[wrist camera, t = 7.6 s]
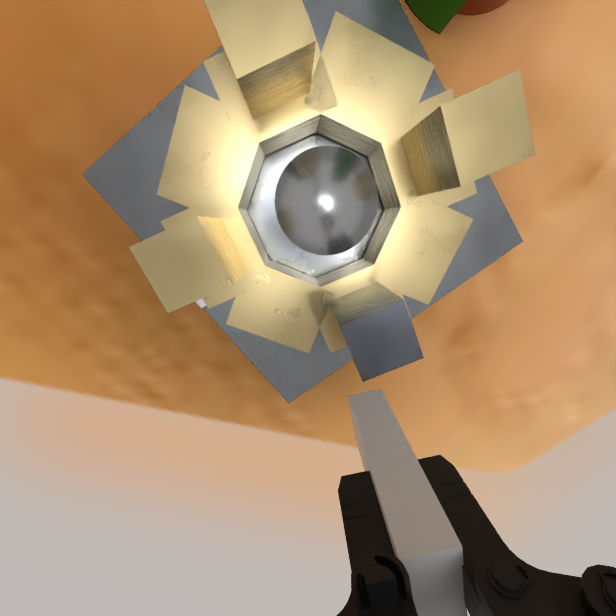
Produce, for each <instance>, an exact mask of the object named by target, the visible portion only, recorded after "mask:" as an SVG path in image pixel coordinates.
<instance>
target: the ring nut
mask: <svg viewBox="0 0 616 616" xmlns="http://www.w3.org/2000/svg"><path fill="white" fill-rule="evenodd" d="M204 2H205V4H206V7H207V9H208V12H209V14H210V17H211V19H212V22H213V24H214V27H215V29H216V32H217V34H218V36H219V39H220V41H221V44H222V46H223V49H224V51H223V52H221V53H219V54H217V55H215V56H213V57H211V58H209V59H207V60H205V61H203V63H204V65H205V67H206V70H207V72H208V74H209V77H210V79H211V81H212V83H213V86H214V88H215V90H216V93H217V95H218V97H219V99H220V101H218V100H216V99H214V98H212V97H210V96H208V95H205V94H203V93H201V92H199V91H197V90H195V89H193V88H190V87H188V86H186V85H185V86H184V90H183V94H182V98H181V102H180V106H179V109H178V113H177V117H176V121H175V125H174V129H173V133H172V137H171V141H170V144H169V148H168V152H167V156H166V160H165V164H164V168H163V172H162V176H161V179H160V183H159V187H158V191H157V195H159V196H162V197H164V198H167V199H169V200H172V201H174V202H177V203H179V204H182V205H184V206H187V207H189V208H188V209H186V210H184V211H182V212H180V213H177V214H175V215H173V216H171V217H169V218H167V219H164V220H162V221H161V223H162V225H163V227H164V229H165V231H163V232H161V233H158V234H156V235H154V236H152V237H150V238H147V239H145V240H143V241H141V242H139V243H136V244H134V245H132V246H130V247H129V248H130V250H131V252H132V254H133V255H134V257H135V259H136V260H137V262H138V264H139V265H140V267H141V269H142V271H143V272H144V274H145V276H146V277H147V279H148V281H149V282H150V284H151V286H152V288H153V289H154V291H155V293H156V294H157V296H158V298H159V299H160V301H161V303H162V304H163V306H164V308H165V310H166V311H167V313H170V312H172V311H174V310H177V309H179V308H181V307H184V306H186V305H188V304H191V303H193V302H195V301H197V300H200V299H203V300H204V302H205V304H206V306H207V308H208V309H209V308H211V307H214V306H216V305H218V304H221V303H223V302H225V301H228V300H230V299H232V298H235V300H234V303H233V305H232V308H231V311H230V314H229V317H228V320H227V322H226V324H227V325H230V326H233V327H236V328H239V329H241V330H244V331H247V332H250V333H253V334H256V335H258V336H261V337H264V338H267V339H270V340H272V341H275V342H278V343H281V344H284V345H286V346H289V347H292V348H295V349H298V350H301V351H303V352H306V353H309V352H310V350H311V348H312V345H313V343H314V341H315V338H316V336H317V334H318V332H319V329H320V330H321V332H322V334H323V337H324V339H325V341H326V344H327V346H328V348H329V350H330V353H332V352H334V351H337V350H339V349H342V348H344V347H346V346H348V349H349V351H350V353H351V355H352V358H353V360H354V362H355V365H356V367H357V369H358V372H359V374H360V376H361V379H362V381H363V382H364V381H366V380H369V379H371V378H374V377H376V376H379V375H381V374H384V373H386V372H389V371H391V370H394V369H396V368H399V367H402V366H404V365H407V364H409V363H412V362H414V361H417V360H419V359H422V358H424V357H423V355H422V352H421V349H420V346H419V343H418V340H417V337H416V334H415V331H414V328H413V325H412V322H411V317H410V314H409V311H408V308H407V305H406V302H405V300H404V297H403V295H406V296H408V297H411V298H413V299H416V300H418V301H421V302H423V303H425V304H428V305H429V303H430V301H431V299H432V297H433V295H434V293H435V292H436V290H437V288H438V286H439V284H440V282H441V280H442V278H443V276H444V274H445V273H446V271H447V269H448V267H449V265H450V263H451V261H452V259H453V257H454V255H455V254H456V252H457V250H458V248H459V246H460V244H461V242H462V240H463V238H464V236H465V235H466V233H467V231H468V229H469V227H470V225H471V223H472V221H473V219H472V218H470V217H468V216H466V215H464V214H461V213H459V212H457V211H455V210H453V209H451V208H449V207H447V206H449V205H451V204H453V203H456V202H458V201H460V200H463V199H465V198H467V197H470V196H472V195H474V194H477V190H476V186H475V182H474V181H475V180H477V179H479V178H482V177H484V176H486V175H489V174H491V173H493V172H496V171H498V170H500V169H503V168H505V167H507V166H510V165H512V164H514V163H516V162H519V161H521V160H523V159H526V158H528V157H530V156H533V155H535V152H534V146H533V141H532V135H531V129H530V124H529V118H528V113H527V107H526V101H525V96H524V90H523V85H522V79H521V73H520V69H519V70H517V71H515V72H513V73H511V74H508V75H506V76H504V77H502V78H500V79H497V80H495V81H493V82H491V83H489V84H486V85H484V86H482V87H480V88H478V89H475V90H473V91H471V92H469V93H467V94H464V95H462V96H460V97H458V98H456V99H455V98H454V94H453V90H452V88H451V89H449V90H446V91H444V92H442V93H440V94H438V95H435V96H433V97H431V98H429V99H427V100H425V101H422V102H420V103H419V101H420V99H421V96H422V94H423V92H424V90H425V87H426V85H427V83H428V81H429V78H430V76H431V74H432V71H433V69H434V67H435V64H433V63H431V62H429V61H427V60H425V59H424V58H422V57H420V56H418V55H416V54H414V53H412V52H411V51H409V50H407V49H405V48H403V47H401V46H400V45H398V44H396V43H394V42H392V41H390V40H388V39H387V38H385V37H383V36H381V35H379V34H377V33H375V32H374V31H372V30H370V29H368V28H366V27H364V26H363V25H361V24H359V23H357V22H355V21H353V20H351V19H350V18H348V17H346V16H344V15H342V14H340V13H338V12H337V11H336V12H335V15H334V17H333V20H332V23H331V26H330V29H329V32H328V35H327V37H326V40H325V43H324V46H323V49H322V52H320V49H319V46H318V43H317V40H316V37H315V34H314V31H313V28H312V25H311V22H310V19H309V16H308V13H307V10H305V7H304V4H303V1H302V0H204ZM315 132H318V133H320V134H322V135H324V136H326V137H328V138H330V139H332V140H335V141H337V142H339V143H341V144H343V145H345V146H347V147H349V148H351V149H354V150H356V151H358V152H360V153H362V154H364V155H366V156H367V157H368V160H369V163H370V166H371V169H372V172H373V175H374V178H375V181H376V184H377V187H378V190H379V193H380V197H381V200H382V203H383V206H384V209H385V210H384V212H383V214H382V217H381V219H380V221H379V223H378V226H377V228H376V230H375V232H374V234H373V237H372V239H371V241H370V243H369V246H368V248H367V250H366V252H365V255H364V257H363V259H360V260H358V261H356V262H353V263H351V264H349V265H346V266H344V267H342V268H339V269H337V270H334V271H332V272H330V273H327V274H325V275H323V276H320V277H318V278H314V277H312V276H309V275H307V274H304V273H302V272H299V271H297V270H294V269H292V268H289V267H287V266H284V265H282V264H279V263H277V262H274V261H272V260H269V258H268V256H267V253H266V251H265V249H264V247H263V245H262V243H261V240H260V238H259V236H258V234H257V232H256V229H255V227H254V225H253V223H252V221H251V219H250V216H249V214H248V212H247V208H248V205H249V202H250V199H251V196H252V193H253V190H254V187H255V184H256V181H257V178H258V175H259V172H260V169H261V166H262V163H263V160H264V157H265V155H268V154H270V153H272V152H274V151H276V150H278V149H281V148H283V147H285V146H287V145H289V144H291V143H294V142H296V141H298V140H300V139H302V138H304V137H307V136H309V135H311V134H313V133H315Z"/></svg>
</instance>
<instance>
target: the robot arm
mask: <svg viewBox="0 0 616 616" xmlns="http://www.w3.org/2000/svg"><path fill="white" fill-rule="evenodd" d="M348 399H349V404H350V409H351V414H352V419H353V424H354V430H355V435H356V440H357V445H358V448H359V452H360V455H361V459H362V462H363V466H364V469H365V472H360V473H355V474H350V475H346V476H342V477H341V481H340V485H339V489H338V493H339V500H340V505H341V511H342V517H343V523H344V529H345V535H346V541H347V547H348V553H349V559H350V565H351V571H352V574H351V588H352V590H351V594H350V597H349V600H348V602H347V604H346V605H345V607H344V608H343V610H342V611H341V612H340V613H339V614H338V615H337V616H467V609H468V612H469V614H470V616H616V568H614V567H610V566H604V565H595V566H591V567H588V568H587V569H586V570H585V572H584V573H583V574H582V578H581V577H575V576H569V575H563V574H558V573H551V572H547V571H544V570H539V569H537V568H535V567H533V566H531V565H529V564H527V563H525V562H524V561H522V560H521V559H520V558H518V557H517V556H516V555H515V554H514V553H513V552H512V551H510V550H509V549H508V547H507V546H506V545H505V543H504V542H503V541H502V539H501V537H500V536H499V534H498V533H497V531H496V530H495V528H494V527H493V525H492V524H491V522H490V521H489V519H488V518H487V516H486V514H485V513H484V511H483V510H482V509H481V507H480V505H479V504H478V502H477V501H476V499H475V498H474V496H473V495H472V494H471V492H470V490H469V488H468V487H467V486H466V484H465V483H464V482H463V479H462V478H461V476H460V475H459V473H458V471H457V470H456V468H455V467H454V465H452V464H451V463H450V462H448V461H447V460H446V459H445V458H443V457H442V456H441V455H437V456H432V457H428V458H423V459H418V460H417V458H416V456H415V454H414V452H413V450H412V448H411V446H410V444H409V442H408V440H407V438H406V437H405V435H404V433H403V431H402V429H401V427H400V425H399V423H398V421H397V419H396V417H395V415H394V413H393V411H392V410H391V408H390V406H389V404H388V402H387V400H386V398H385V396H384V394H383V392H382V390H381V389H380V390H375V391H370V392H366V393H361V394H356V395H351V396H348Z"/></svg>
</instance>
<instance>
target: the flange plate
mask: <svg viewBox="0 0 616 616" xmlns="http://www.w3.org/2000/svg"><path fill="white" fill-rule="evenodd" d="M302 1H303V4H304V7H305V10H307V13H308V16H309V19H310V22H311V25H312V28H313V31H314V34H315V37H316V40H317V43H318V46H319V49H320V52H322V49H323V46H324V43H325V40H326V37H327V35H328V32H329V29H330V26H331V23H332V20H333V17H334V15H335V12H336V11H337V12H338V13H340V14H342V15H344V16H346V17H348V18H350V19H351V20H353V21H355V22H357V23H359V24H361V25H363V26H364V27H366V28H368V29H370V30H372V31H374V32H375V33H377V34H379V35H381V36H383V37H385V38H387V39H388V40H390V41H392V42H394V43H396V44H398V45H400V46H401V47H403V48H405V49H407V50H409V51H411V52H412V53H414V54H416V55H418V56H420V57H422V58H424V59H425V60H427V61H429V62H430V60H429V59H428V57H427V55H426V53H425V51H424V49H423V47H422V45H421V43H420V41H419V39H418V37H417V35H416V33H415V31H414V30H413V28H412V26H411V24H410V22H409V20H408V18H407V16H406V14H405V12H404V10H403V8H402V6H401V4H400V2H399V1H398V0H302ZM223 51H224V49H223V46H221V47H220V48H219V49H217V50H216V51H215V52H214V53H213V54H212V55H211V56H210V57H209V58H211V57H213V56H215V55H217V54H219V53H221V52H223ZM209 58H208V59H209ZM185 85H186V86H188V87H190V88H193V89H195V90H197V91H199V92H201V93H203V94H205V95H208V96H210V97H212V98H214V99H216V100H218V101H220V99H219V97H218V95H217V93H216V90H215V88H214V86H213V83H212V81H211V79H210V77H209V74H208V72H207V70H206V67H205V65H204V63H202V64H201V65H200V66H199V67H198V68H197V69H196V70H195V71H194V72H193V73H192V74H190V75H189V76H188V77H187V78H186V79H185V80H184V81H183V82H182V83H181V84H180V85H179V86H177V87H176V88H175V89H174V90H173V91H172V92H171V93H170V94H169V95H168V96H167V97H166V98H165V99H163V100H162V101H161V102H160V103H159V104H158V105H157V106H156V107H155V108H154V109H153V110H152V111H150V112H149V113H148V114H147V115H146V116H145V117H144V118H143V119H142V120H141V121H140V122H139V123H137V124H136V125H135V126H134V127H133V128H132V129H131V130H130V131H129V132H128V133H127V134H126V135H125V136H123V137H122V138H121V139H120V140H119V141H118V142H117V143H116V144H115V145H114V146H113V147H112V148H110V149H109V150H108V151H107V152H106V153H105V154H104V155H103V156H102V157H101V158H100V159H99V160H98V161H96V162H95V163H94V164H93V165H92V166H91V167H90V168H89V169H88V170H87V171H86V172H85V173H83V174H82V175H83V176H84V177H85V178H86V179H87V180H88V181H89V183H90V184H91V185H92V186H93V187H94V188H95V189H96V190H97V191H98V192H99V194H100V195H101V196H102V197H103V198H104V199H105V200H106V201H107V202H108V204H109V205H110V206H111V207H112V208H113V209H114V210H115V211H116V212H117V214H118V215H119V216H120V217H121V218H122V219H123V220H124V221H125V222H126V224H127V225H128V226H129V227H130V228H131V229H132V230H133V231H134V232H135V233H136V235H137V236H138V237H139V238H140V239H141V240H142V241H143V240H145V239H147V238H150V237H152V236H154V235H156V234H158V233H161V232H163V231H165V229H164V227H163V225H162V223H161V221H162V220H164V219H167V218H169V217H171V216H173V215H175V214H177V213H180V212H182V211H184V210H186V209H188V208H189V207H187V206H184V205H182V204H179V203H177V202H174V201H172V200H169V199H167V198H164V197H162V196H159V195H157V191H158V187H159V183H160V179H161V176H162V172H163V168H164V164H165V160H166V156H167V152H168V148H169V144H170V141H171V137H172V133H173V129H174V125H175V121H176V117H177V113H178V109H179V106H180V102H181V98H182V94H183V90H184V86H185ZM444 91H445V89H444V87H443V86H442V84H441V82H440V80H439V78H438V76H437V74H436V72H435V70H434V69H433V71H432V74H431V76H430V78H429V81H428V83H427V85H426V87H425V90H424V92H423V94H422V96H421V99H420V101H419V103H420V102H422V101H425V100H427V99H429V98H431V97H433V96H435V95H438V94H440V93H442V92H444ZM474 182H475V186H476V190H477V194H474V195H472V196H470V197H467V198H465V199H463V200H460V201H458V202H456V203H453V204H451V205H449V206H447V207H449V208H451V209H453V210H455V211H457V212H459V213H461V214H464V215H466V216H468V217H470V218H472V219H473V221H472V223H471V225H470V227H469V229H468V231H467V233H466V235H465V236H464V238H463V240H462V242H461V244H460V246H459V248H458V250H457V252H456V254H455V255H454V257H453V259H452V261H451V263H450V265H449V267H448V269H447V271H446V273H445V274H444V276H443V278H442V280H441V282H440V284H439V286H438V288H437V290H436V292H435V293H434V295H433V297H432V299H431V301H430V303H429V305H428V304H425V303H423V302H421V301H418V300H416V299H413V298H411V297H408V296H406V295H403V297H404V300H405V302H406V305H407V308H408V311H409V314H410V317H411V318H413V317H414V316H416V315H417V314H419V313H420V312H422V311H423V310H425V309H426V308H427V307H429V306H430V305H432V304H433V303H435V302H436V301H438V300H439V299H440V298H442V297H443V296H445V295H446V294H448V293H449V292H451V291H452V290H453V289H455V288H456V287H458V286H459V285H461V284H462V283H464V282H465V281H467V280H468V279H469V278H471V277H472V276H474V275H475V274H477V273H478V272H480V271H481V270H482V269H484V268H485V267H487V266H488V265H490V264H491V263H493V262H494V261H496V260H497V259H498V258H500V257H501V256H503V255H504V254H506V253H507V252H509V251H510V250H511V249H513V248H514V247H516V246H517V245H519V244H520V243H522V242H523V240H522V238H521V236H520V234H519V232H518V230H517V229H516V227H515V225H514V223H513V221H512V219H511V217H510V215H509V213H508V211H507V209H506V207H505V205H504V203H503V202H502V200H501V198H500V196H499V194H498V192H497V190H496V188H495V186H494V184H493V182H492V180H491V178H490V176H489V175H486V176H484V177H482V178H479V179H477V180H475V181H474ZM384 210H385V209H384V206H383V203H382V200H381V197H380V193H379V190H378V187H377V184H376V181H375V178H374V175H373V172H372V169H371V166H370V163H369V160H368V157H367V156H366V155H364V154H362V153H360V152H358V151H356V150H354V149H351V148H349V147H347V146H345V145H343V144H341V143H339V142H337V141H335V140H332V139H330V138H328V137H326V136H324V135H322V134H320V133H318V132H315V133H313V134H311V135H309V136H307V137H304V138H302V139H300V140H298V141H296V142H294V143H291V144H289V145H287V146H285V147H283V148H281V149H278V150H276V151H274V152H272V153H270V154H268V155H265V157H264V160H263V163H262V166H261V169H260V172H259V175H258V178H257V181H256V184H255V187H254V190H253V193H252V196H251V199H250V202H249V205H248V208H247V212H248V214H249V216H250V219H251V221H252V223H253V225H254V227H255V229H256V232H257V234H258V236H259V238H260V240H261V243H262V245H263V247H264V249H265V251H266V253H267V256H268V258H269V260H272V261H274V262H277V263H279V264H282V265H284V266H287V267H289V268H292V269H294V270H297V271H299V272H302V273H304V274H307V275H309V276H312V277H314V278H318V277H320V276H323V275H325V274H327V273H330V272H332V271H334V270H337V269H339V268H342V267H344V266H346V265H349V264H351V263H353V262H356V261H358V260H360V259H363V257H364V255H365V252H366V250H367V248H368V246H369V243H370V241H371V239H372V237H373V234H374V232H375V230H376V228H377V226H378V223H379V221H380V219H381V217H382V214H383V212H384ZM234 300H235V298H232V299H230V300H228V301H225V302H223V303H221V304H218V305H216V306H214V307H211V308H209V309H208V308H207V306H206V304H205V302H204V300H203V299H200V300H197V301H195V302H196V303H197V304H198V305H199V306H200V307H201V308H203V309H204V310H205V311H206V312H207V313H208V314H209V316H210V317H211V318H212V319H213V320H214V321H215V322H216V323H217V324H218V325H219V327H220V328H221V329H222V330H223V331H224V332H225V333H226V334H227V335H228V337H229V338H230V339H231V340H232V341H233V342H234V343H235V344H236V345H237V347H238V348H239V349H240V350H241V351H242V352H243V353H244V354H245V355H246V357H247V358H248V359H249V360H250V361H251V362H252V363H253V364H254V365H255V366H256V368H257V369H258V370H259V371H260V372H261V373H262V374H263V375H264V376H265V378H266V379H267V380H268V381H269V382H270V383H271V384H272V385H273V386H274V388H275V389H276V390H277V391H278V392H279V393H280V394H281V395H282V396H283V398H284V399H285V400H286V401H287V402H288V403H290V402H291V401H293V400H294V399H296V398H297V397H298V396H300V395H301V394H303V393H304V392H306V391H307V390H309V389H310V388H312V387H313V386H314V385H316V384H317V383H319V382H320V381H322V380H323V379H325V378H326V377H327V376H329V375H330V374H332V373H333V372H335V371H336V370H338V369H339V368H340V367H342V366H343V365H345V364H346V363H348V362H349V361H351V360H352V359H353V358H352V355H351V353H350V351H349V349H348V346H346V347H344V348H342V349H339V350H337V351H334V352H332V353H330V350H329V348H328V346H327V344H326V341H325V339H324V337H323V334H322V332H321V330H320V329H319V332H318V334H317V336H316V338H315V341H314V343H313V345H312V348H311V350H310V352H309V353H306V352H303V351H301V350H298V349H295V348H292V347H289V346H286V345H284V344H281V343H278V342H275V341H272V340H270V339H267V338H264V337H261V336H258V335H256V334H253V333H250V332H247V331H244V330H241V329H239V328H236V327H233V326H230V325H227V324H226V322H227V320H228V317H229V314H230V311H231V308H232V305H233V303H234Z"/></svg>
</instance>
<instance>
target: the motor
mask: <svg viewBox="0 0 616 616" xmlns="http://www.w3.org/2000/svg"><path fill="white" fill-rule="evenodd" d="M406 1H407V3H408V5H409V6H410V8H411V9H412V11H413V12H414V13H415V14H416V16H417V17H418V18H419V19H420V20H421V21H422V22H423V23H424V24H426V25H427V26H428V27H429V28H431V29H432V30H434V31H436V32H438V33H439V34H440V33H441V31H442V30H443V29H444V28H445V26H446V25H447V24H448V23H449V21H450V20H451V19H452V18H453V16H454V15H455V14H456V13H460V14H465V15H476V14H482V13H486V12H489V11H492V10H494V9H496V8H498V7H499V6H501V5H503V4H504V3H505V2H507V1H508V0H406Z"/></svg>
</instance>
